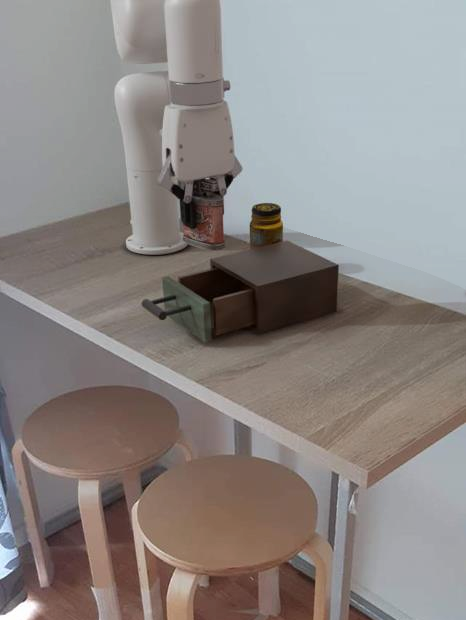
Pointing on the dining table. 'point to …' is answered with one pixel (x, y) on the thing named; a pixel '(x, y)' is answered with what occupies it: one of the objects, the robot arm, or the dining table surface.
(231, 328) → the drawer
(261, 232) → the condiment
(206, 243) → the lighter
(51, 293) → the dining table surface
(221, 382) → the dining table surface
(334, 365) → the dining table surface
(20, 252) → the dining table surface
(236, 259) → the cabinet
